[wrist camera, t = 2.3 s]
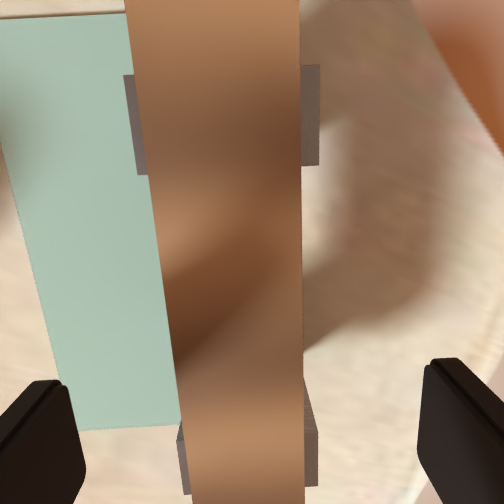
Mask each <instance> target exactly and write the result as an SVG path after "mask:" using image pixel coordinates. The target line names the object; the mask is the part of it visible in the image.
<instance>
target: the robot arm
mask: <svg viewBox="0 0 504 504" xmlns="http://www.w3.org/2000/svg"><path fill="white" fill-rule="evenodd" d="M417 454H418V458H419V461H420V463H421V465H422V467H423V469H424V470H425V472H426V474H427V476H428V478H429V479H430V481H431V483H432V485H433V487H434V488H435V490H436V492H437V493H438V495H439V497H440V499H441V501H442V502H443V504H504V402H503V401H501V399H500V398H499V397H498V396H497V395H496V394H494V393H493V392H492V391H491V390H490V389H489V388H488V387H487V386H486V385H485V384H484V383H483V382H482V381H481V380H480V379H479V378H478V377H477V376H476V375H475V374H474V373H473V372H472V371H471V370H470V369H469V368H468V367H467V366H466V365H465V364H464V363H463V362H462V361H461V360H459V359H458V358H437V359H433V360H432V361H431V362H430V365H426V366H425V368H424V377H423V388H422V398H421V409H420V420H419V430H418V441H417ZM85 475H86V464H85V460H84V456H83V451H82V447H81V443H80V438H79V434H78V429H77V425H76V421H75V416H74V412H73V408H72V403H71V399H70V395H69V390H68V387H67V386H66V385H62V383H61V382H60V381H59V380H41V381H34V382H32V383H31V384H30V385H29V386H28V387H27V388H26V389H25V390H24V391H23V392H22V393H21V395H20V396H19V397H18V398H17V399H16V400H15V401H14V402H13V403H12V404H11V405H10V406H9V407H8V409H7V410H6V411H5V412H4V413H3V414H2V415H1V416H0V504H73V503H74V501H75V499H76V497H77V495H78V492H79V490H80V488H81V486H82V484H83V482H84V479H85Z"/></svg>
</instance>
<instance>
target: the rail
mask: <svg viewBox="0 0 504 504" xmlns="http://www.w3.org/2000/svg"><path fill="white" fill-rule="evenodd" d="M124 4H125V11H126V19H127V26H128V33H129V40H130V48H131V55H132V62H133V70H134V77H135V84H136V92H137V99H138V106H139V113H140V121H141V128H142V135H143V143H144V150H145V157H146V165H147V172H148V179H149V187H150V194H151V201H152V208H153V216H154V223H155V230H156V238H157V245H158V252H159V260H160V267H161V274H162V281H163V289H164V296H165V303H166V311H167V318H168V325H169V333H170V340H171V347H172V355H173V362H174V369H175V376H176V384H177V391H178V398H179V406H180V413H181V420H182V428H183V435H184V442H185V449H186V457H187V464H188V471H189V479H190V486H191V493H192V501H193V504H305V477H304V387H303V296H302V206H301V115H300V24H299V0H124Z"/></svg>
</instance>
